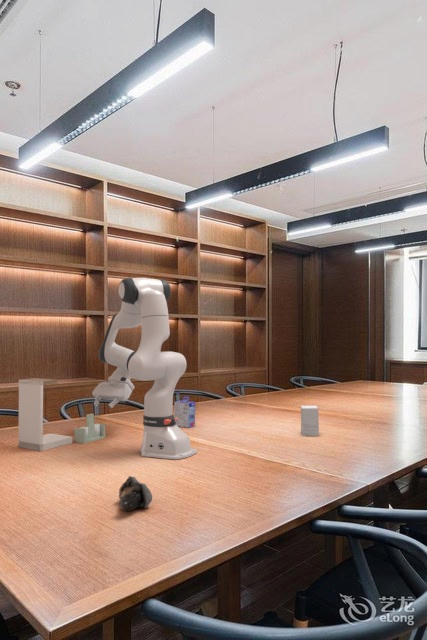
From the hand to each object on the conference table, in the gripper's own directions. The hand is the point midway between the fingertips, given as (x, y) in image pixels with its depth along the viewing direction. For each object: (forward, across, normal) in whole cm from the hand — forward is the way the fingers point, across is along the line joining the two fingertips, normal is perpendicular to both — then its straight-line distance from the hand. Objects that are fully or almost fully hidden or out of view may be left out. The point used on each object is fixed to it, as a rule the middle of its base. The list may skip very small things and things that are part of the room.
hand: (102, 406), depth 209 cm
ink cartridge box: (-17, +18, +37) cm, 44 cm away
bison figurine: (+50, +69, -30) cm, 90 cm away
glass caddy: (+15, 0, +4) cm, 16 cm away
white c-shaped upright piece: (+26, -9, -7) cm, 29 cm away
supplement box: (-27, +78, +47) cm, 95 cm away
